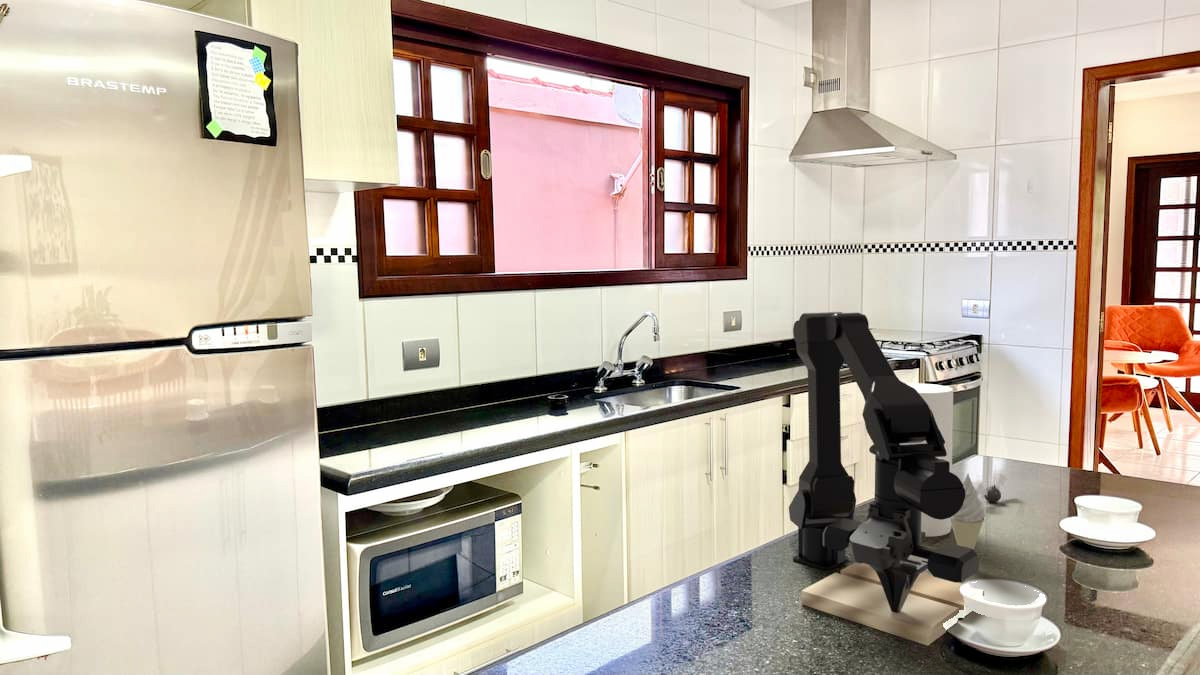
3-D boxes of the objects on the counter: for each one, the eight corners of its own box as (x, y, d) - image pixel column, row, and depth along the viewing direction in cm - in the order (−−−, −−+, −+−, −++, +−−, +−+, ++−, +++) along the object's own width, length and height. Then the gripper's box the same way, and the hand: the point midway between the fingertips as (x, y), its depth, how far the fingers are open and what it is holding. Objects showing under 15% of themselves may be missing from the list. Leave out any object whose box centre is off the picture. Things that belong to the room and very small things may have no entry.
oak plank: (801, 604, 115) (801, 590, 115) (835, 585, 121) (835, 572, 121) (927, 645, 102) (928, 630, 102) (958, 622, 108) (958, 607, 108)
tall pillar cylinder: (964, 531, 143) (967, 389, 141) (916, 540, 139) (918, 394, 137) (920, 514, 153) (921, 381, 151) (873, 522, 149) (874, 386, 147)
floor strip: (838, 584, 122) (838, 571, 121) (863, 570, 127) (864, 557, 127) (961, 620, 109) (961, 606, 109) (984, 603, 114) (984, 589, 114)
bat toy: (965, 508, 156) (966, 484, 155) (1001, 493, 165) (1002, 469, 165) (981, 512, 153) (981, 487, 153) (1017, 496, 163) (1017, 472, 162)
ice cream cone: (968, 577, 123) (970, 479, 122) (940, 566, 128) (942, 471, 126) (991, 570, 125) (993, 474, 124) (962, 560, 130) (964, 467, 128)
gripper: (800, 494, 107) (799, 609, 108) (942, 526, 93) (939, 657, 95) (844, 477, 114) (843, 585, 116) (982, 504, 101) (978, 626, 103)
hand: (896, 611), depth 107 cm, fingers closed, pressing on oak plank
